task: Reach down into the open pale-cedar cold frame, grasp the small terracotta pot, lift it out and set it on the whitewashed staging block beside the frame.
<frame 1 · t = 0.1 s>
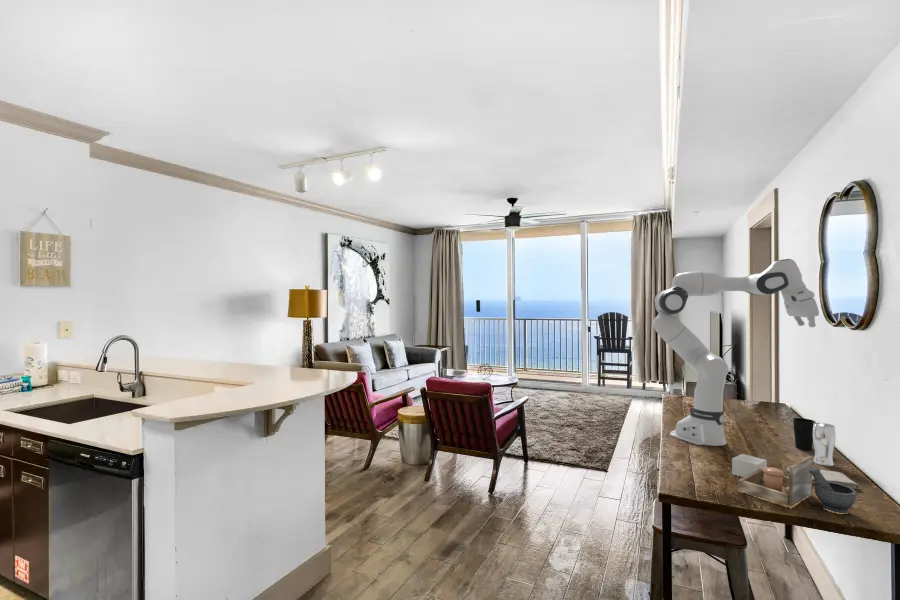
hand: (807, 326, 195), 52 cm above the table, tool tilted 20°, fingers open, 8 cm apart
staging block: (749, 475, 166), on the table
cup: (803, 448, 196), on the table
mortar and pestle: (831, 510, 140), on the table
beer glass: (823, 464, 179), on the table
terracotta pot: (772, 491, 151), point 1 cm above the table, touching cold frame
cold frame: (772, 493, 151), on the table
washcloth: (820, 482, 163), on the table
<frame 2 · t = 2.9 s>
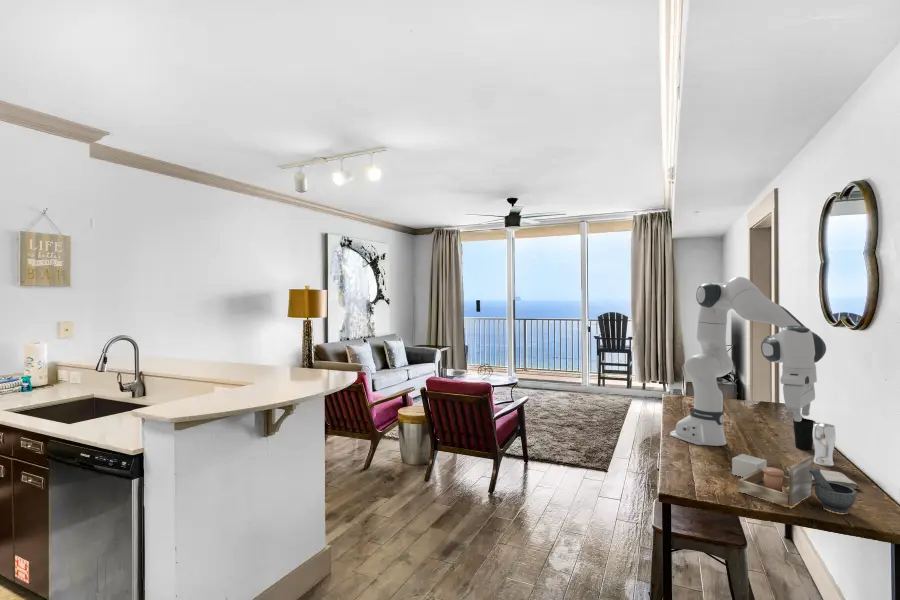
hand: (801, 418, 151), 25 cm above the table, tool pointing down, fingers open, 8 cm apart
nothing on the table moved.
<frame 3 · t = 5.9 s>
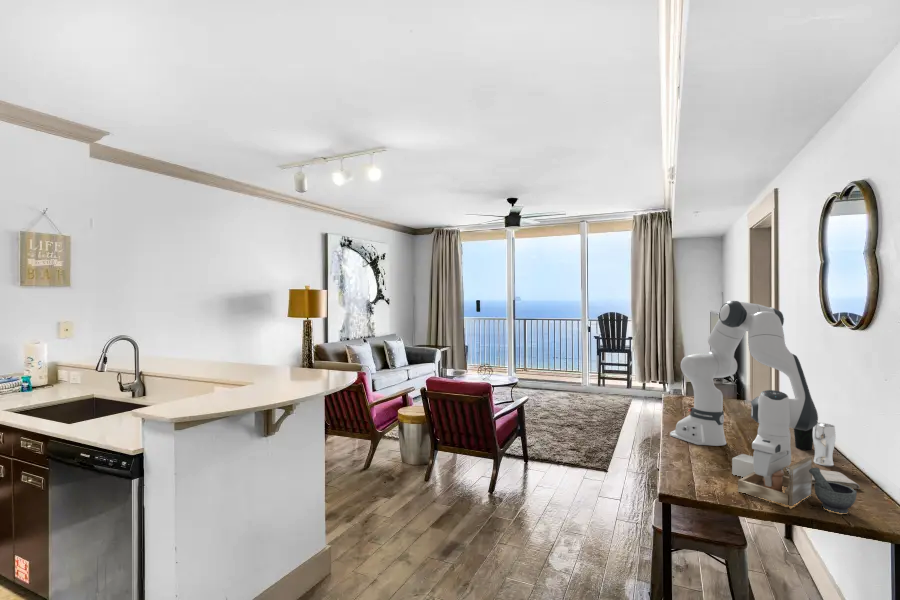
hand: (773, 483, 151), 3 cm above the table, tool pointing down, fingers closed on terracotta pot, 5 cm apart
terracotta pot: (772, 491, 151), point 1 cm above the table, touching cold frame, gripper
everything else where it was.
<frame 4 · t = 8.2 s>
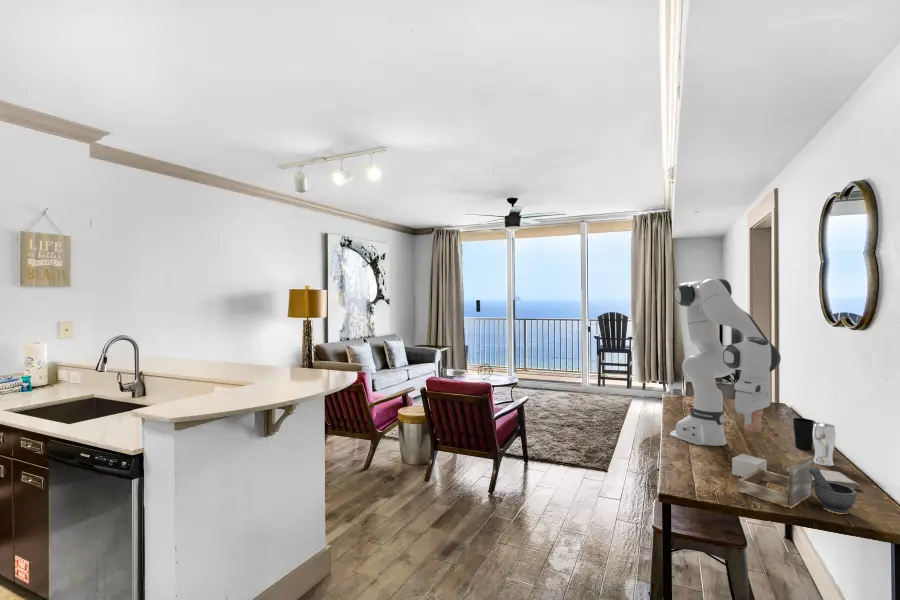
hand: (752, 422, 164), 20 cm above the table, tool pointing down, fingers closed on terracotta pot, 5 cm apart
terracotta pot: (752, 429, 164), point 17 cm above the table, touching gripper
everything else where it was.
when the fingers open (10 cm above the table, at t = 10.6 s): terracotta pot drops 1 cm, resting on staging block.
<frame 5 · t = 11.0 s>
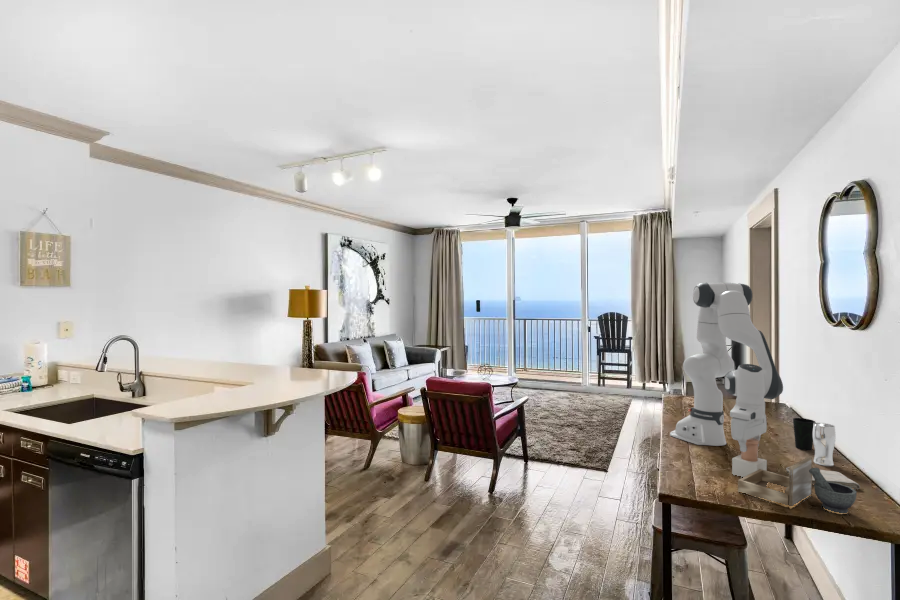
hand: (749, 448, 166), 10 cm above the table, tool pointing down, fingers open, 8 cm apart
terracotta pot: (749, 459, 166), point 6 cm above the table, touching staging block
everything else where it was.
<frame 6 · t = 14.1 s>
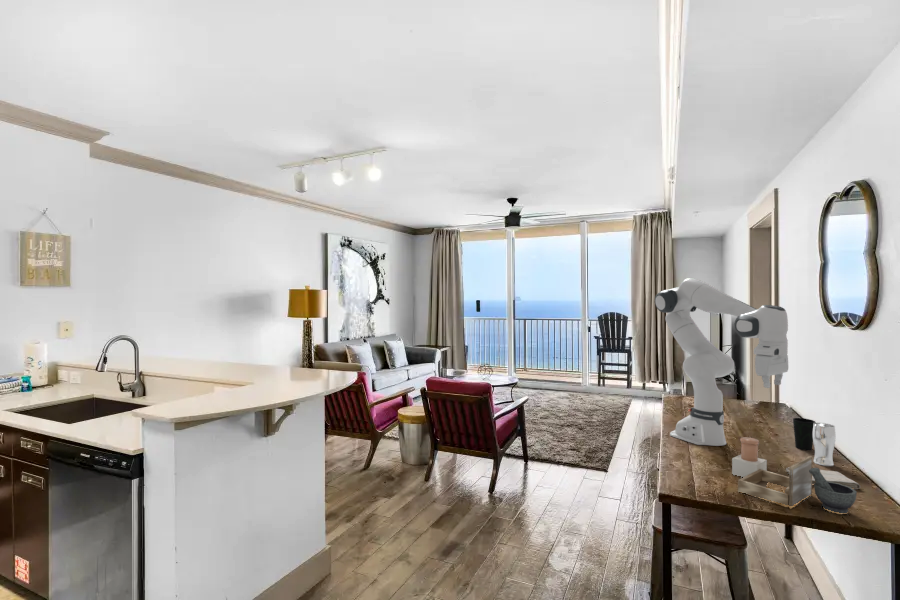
hand: (772, 386, 172), 31 cm above the table, tool pointing down, fingers open, 8 cm apart
nothing on the table moved.
at the end: terracotta pot 0.0 cm off-centre on the staging block, point 6.0 cm above the staging block's base; terracotta pot tilted 0°; the gripper is holding nothing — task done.
